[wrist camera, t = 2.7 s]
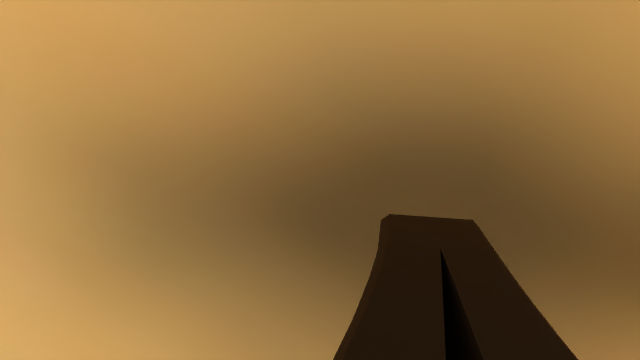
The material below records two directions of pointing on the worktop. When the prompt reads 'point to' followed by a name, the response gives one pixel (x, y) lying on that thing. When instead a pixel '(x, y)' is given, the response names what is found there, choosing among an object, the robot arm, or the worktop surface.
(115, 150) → the worktop surface
